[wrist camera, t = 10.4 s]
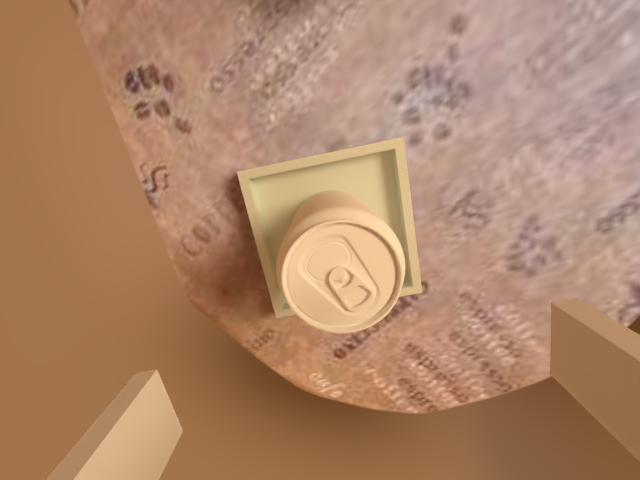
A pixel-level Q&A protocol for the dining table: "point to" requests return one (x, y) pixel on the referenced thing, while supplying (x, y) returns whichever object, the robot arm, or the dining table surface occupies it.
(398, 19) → the dining table surface
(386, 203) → the holder tray
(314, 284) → the beverage can
